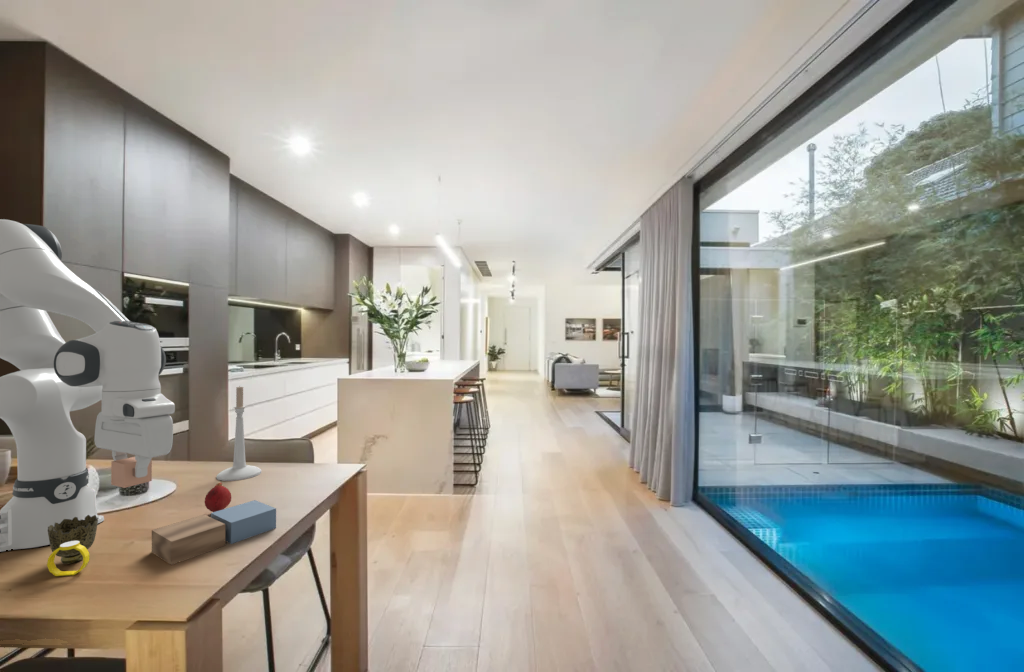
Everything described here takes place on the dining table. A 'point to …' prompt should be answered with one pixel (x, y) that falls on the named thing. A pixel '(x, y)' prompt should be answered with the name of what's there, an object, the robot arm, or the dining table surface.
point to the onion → (217, 498)
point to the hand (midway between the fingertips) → (131, 474)
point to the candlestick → (239, 448)
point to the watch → (68, 546)
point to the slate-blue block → (246, 520)
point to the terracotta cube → (127, 473)
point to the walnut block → (188, 538)
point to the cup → (72, 536)
